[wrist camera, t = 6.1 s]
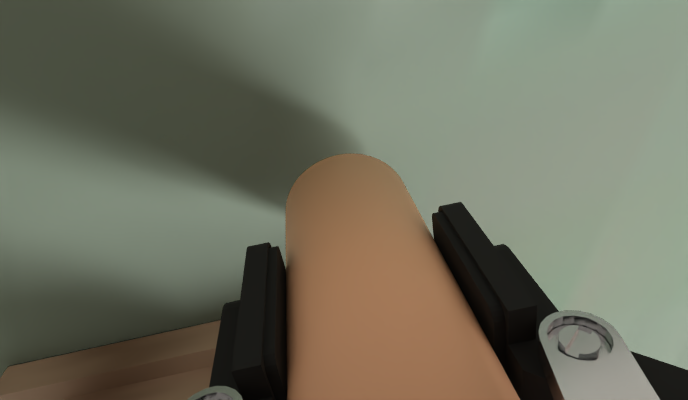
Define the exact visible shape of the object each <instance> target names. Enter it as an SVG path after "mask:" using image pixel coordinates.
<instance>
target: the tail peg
mask: <svg viewBox="0 0 688 400" xmlns="http://www.w3.org/2000/svg"><path fill="white" fill-rule="evenodd" d="M286 330H287V400H520V398H519V396H518V395H517V393H516V391H515V389H514V387H513V385H512V384H511V382H510V380H509V378H508V376H507V374H506V372H505V371H504V369H503V367H502V365H501V363H500V361H499V359H498V358H497V356H496V354H495V352H494V350H493V348H492V346H491V345H490V343H489V341H488V339H487V337H486V335H485V333H484V332H483V330H482V328H481V326H480V324H479V322H478V320H477V319H476V317H475V315H474V313H473V311H472V309H471V307H470V306H469V304H468V302H467V300H466V298H465V296H464V295H463V293H462V291H461V289H460V287H459V285H458V283H457V282H456V280H455V278H454V276H453V274H452V272H451V270H450V269H449V267H448V265H447V263H446V261H445V259H444V257H443V256H442V254H441V252H440V250H439V248H438V246H437V244H436V243H435V241H434V239H433V237H432V235H431V233H430V231H429V230H428V228H427V226H426V224H425V222H424V220H423V218H422V217H421V215H420V213H419V211H418V209H417V207H416V205H415V204H414V202H413V200H412V198H411V196H410V194H409V193H408V191H407V189H406V187H405V185H404V183H403V181H402V180H401V178H400V177H399V175H398V174H397V173H396V172H395V171H394V170H393V169H392V168H391V167H390V166H388V165H387V164H386V163H384V162H382V161H380V160H379V159H376V158H374V157H371V156H367V155H363V154H341V155H335V156H331V157H328V158H326V159H323V160H321V161H319V162H317V163H315V164H313V165H312V166H311V167H309V168H308V169H307V170H305V171H304V172H303V173H302V174H301V175H300V176H299V178H298V179H297V180H296V181H295V183H294V185H293V186H292V188H291V190H290V192H289V195H288V198H287V202H286Z"/></svg>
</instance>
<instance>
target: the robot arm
mask: <svg viewBox="0 0 688 400" xmlns="http://www.w3.org/2000/svg"><path fill="white" fill-rule="evenodd" d="M432 222H433V234H434V241H435V243H436V244H437V246H438V248H439V250H440V252H441V254H442V256H443V257H444V259H445V261H446V263H447V265H448V267H449V269H450V270H451V272H452V274H453V276H454V278H455V280H456V282H457V283H458V285H459V287H460V289H461V291H462V293H463V295H464V296H465V298H466V300H467V302H468V304H469V306H470V307H471V309H472V311H473V313H474V315H475V317H476V319H477V320H478V322H479V324H480V326H481V328H482V330H483V332H484V333H485V335H486V337H487V339H488V341H489V343H490V345H491V346H492V348H493V350H494V352H495V354H496V356H497V358H498V359H499V361H500V363H501V365H502V367H503V369H504V371H505V372H506V374H507V376H508V378H509V380H510V382H511V384H512V385H513V387H514V389H515V391H516V393H517V395H518V396H519V398H520V400H688V370H685V369H682V368H679V367H676V366H673V365H670V364H667V363H664V362H661V361H658V360H655V359H652V358H649V357H646V356H643V355H640V354H637V353H634V352H631V351H630V350H629V349H628V347H627V345H626V344H625V342H624V340H623V339H622V337H621V336H620V334H619V333H618V332H617V331H616V329H615V328H614V327H613V326H612V325H611V324H609V323H608V322H606V321H605V320H604V319H602V318H600V317H597V316H595V315H593V314H590V313H586V312H582V311H572V310H565V311H560V312H559V311H558V310H557V309H556V307H555V306H554V305H553V303H552V302H551V301H550V300H549V298H548V297H547V296H546V295H545V293H544V292H543V291H542V289H541V288H540V287H539V286H538V284H537V283H536V282H535V281H534V279H533V278H532V277H531V275H530V274H529V273H528V272H527V270H526V269H525V268H524V267H523V265H522V264H521V263H520V261H519V260H518V259H517V258H516V256H515V255H514V254H513V252H512V251H511V250H510V249H509V248H508V247H507V246H506V245H504V244H501V245H497V246H493V244H492V243H491V242H490V240H489V239H488V238H487V236H486V235H485V234H484V232H483V231H482V229H481V228H480V227H479V225H478V224H477V223H476V221H475V220H474V219H473V217H472V216H471V215H470V213H469V212H468V210H467V209H466V208H465V206H464V205H463V204H462V203H461V202H458V203H453V204H449V205H444V206H440V207H439V210H438V212H437V213H433V214H432ZM187 400H287V330H286V269H285V266H284V262H283V259H282V256H281V252H280V249H279V247H278V246H276V247H271V245H270V243H269V242H268V243H263V244H258V245H254V246H249V247H247V252H246V260H245V267H244V275H243V283H242V291H241V298H240V300H238V301H234V302H229V303H226V304H225V305H224V307H223V310H222V316H221V322H220V328H219V333H218V339H217V345H216V350H215V356H214V362H213V367H212V373H211V379H210V384H209V388H206V389H203V390H201V391H199V392H197V393H195V394H194V395H192V396H191V397H190V398H188V399H187Z"/></svg>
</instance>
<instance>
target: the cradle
mask: <svg viewBox="0 0 688 400" xmlns="http://www.w3.org/2000/svg"><path fill="white" fill-rule="evenodd" d="M220 322H221V320H219V321H215V322H210V323H205V324H201V325H196V326H192V327H187V328H183V329H178V330H173V331H169V332H164V333H160V334H155V335H151V336H146V337H141V338H137V339H132V340H128V341H123V342H119V343H114V344H110V345H105V346H100V347H96V348H91V349H87V350H82V351H78V352H73V353H68V354H64V355H59V356H55V357H50V358H46V359H41V360H36V361H32V362H27V363H23V364H18V365H14V366H9V367H7V369H6V370H5V372H4V373H3V375H2V376H1V378H0V400H187V399H188V398H190V397H191V396H192V395H194V394H195V393H197V392H199V391H201V390H203V389H206V388H209V384H210V379H211V373H212V367H213V362H214V356H215V350H216V345H217V339H218V333H219V328H220Z"/></svg>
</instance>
